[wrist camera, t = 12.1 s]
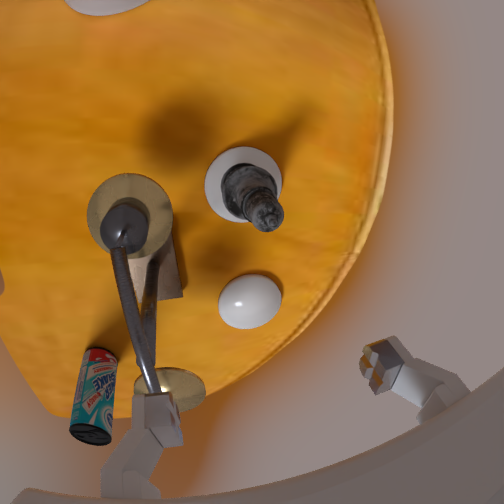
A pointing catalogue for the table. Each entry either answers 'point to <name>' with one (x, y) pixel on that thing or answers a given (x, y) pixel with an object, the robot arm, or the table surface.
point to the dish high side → (249, 301)
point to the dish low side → (227, 161)
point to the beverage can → (94, 398)
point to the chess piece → (252, 196)
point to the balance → (143, 273)
